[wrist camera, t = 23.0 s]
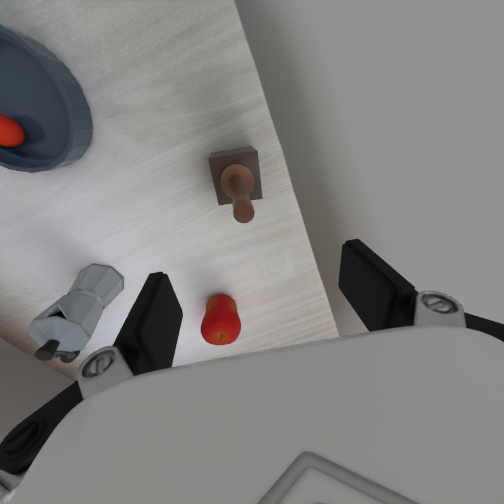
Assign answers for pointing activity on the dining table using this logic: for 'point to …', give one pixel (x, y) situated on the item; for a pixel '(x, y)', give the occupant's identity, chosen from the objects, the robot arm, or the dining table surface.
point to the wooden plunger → (239, 190)
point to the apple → (221, 321)
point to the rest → (225, 158)
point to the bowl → (40, 106)
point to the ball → (10, 132)
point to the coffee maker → (75, 314)
